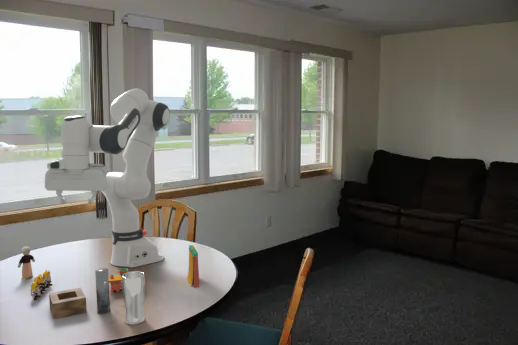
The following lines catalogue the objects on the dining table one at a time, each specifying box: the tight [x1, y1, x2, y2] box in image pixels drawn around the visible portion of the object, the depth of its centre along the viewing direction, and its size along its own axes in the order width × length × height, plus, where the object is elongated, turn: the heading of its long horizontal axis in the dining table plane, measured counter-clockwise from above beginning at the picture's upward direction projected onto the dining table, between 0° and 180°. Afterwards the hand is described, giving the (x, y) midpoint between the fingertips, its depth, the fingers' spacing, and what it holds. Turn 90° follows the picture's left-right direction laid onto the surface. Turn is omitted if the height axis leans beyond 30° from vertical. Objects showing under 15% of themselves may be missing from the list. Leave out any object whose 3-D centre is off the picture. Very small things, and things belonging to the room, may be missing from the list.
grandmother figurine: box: [17, 246, 36, 281], centre depth 184 cm, size 8×4×13 cm, turn 168°
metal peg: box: [94, 267, 111, 315], centre depth 153 cm, size 4×4×14 cm
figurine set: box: [29, 269, 53, 302], centre depth 170 cm, size 3×16×7 cm, turn 5°
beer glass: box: [121, 270, 146, 326], centre depth 146 cm, size 7×7×15 cm
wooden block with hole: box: [48, 287, 88, 320], centre depth 155 cm, size 10×10×5 cm
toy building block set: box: [109, 244, 200, 293], centre depth 175 cm, size 12×35×14 cm, turn 108°
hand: (77, 203), depth 161 cm, fingers open, 8 cm apart
